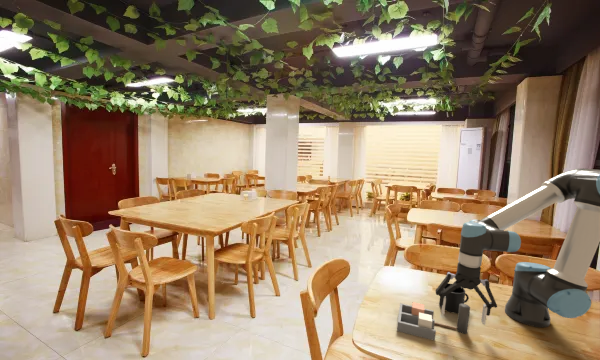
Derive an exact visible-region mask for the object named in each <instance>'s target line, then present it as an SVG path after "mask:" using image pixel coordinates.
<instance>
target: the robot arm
mask: <svg viewBox="0 0 600 360" xmlns="http://www.w3.org/2000/svg"><path fill="white" fill-rule="evenodd" d="M573 199H574V200H573ZM567 200H573V203H574V204H575V206H576V209H575V210H576V211H575V213H574V215H573V218H572V220H571V223H570V224H569V228H568V230H567V233H566V236H565V239H564V241H563V243H562V245H561V248H560V250H559V253H558V256H557V258H556V260H555V263H554V266H553V267H550V266H547V265H544V264H541V263H536V262H527V261H521V262H517V263H515V267H514V275H513V282H512V292H511V295H510V297H509V298H508V299H507V302H506V303H505V306H504V313H505V314H506V315H507V316H509V317H510V318H511V319H513V320H515V321H517V322H519V323H521V324H524V325H527V326H530V327H535V328H548V327H550V325H551V316H550V311H551V312H552V313H555V314H556V315H558V316H560V317H562V318H565V319H576V318H578V317H582V316H583V315H585V314H586V313H587V312H588V311H589V310H590V309H591V305H592V299H591V296H590V295H589V294H588V293H587V290H588V286H589V284H588V283H587V282H586V280H585V278H586V275H587V273H588V270H589V268H590V267H591V264H592V262H593V259H594V256H595V254H596V252H597V249H598V247H599V245H600V169H593V168H576V169H571V170H567V171H565V172H562V173H560V174H558V175H555V176H553V177H552V178H548V179H547V180H546V181H544V182H542V183H541V186H540V187H539V188H536V189H535V190H533V191H531V192H529V193H527V194H526V195H524V196H522V197H520V198H518V199H516V200H515V201H513V202H511V203H509V204H507V205H505V206H504V207H502V208H500V209H498V210H497V211H495V212H492V213H491V214H489V215H488V216H486V217H485V216H484V217H483V218H482V219H470V220H469V221H467V222H466V221H465V222H464V223H463V224H462V226H461V231H460V240H459V251H458V258H457V261H458V262H457V267H456V273H451V272H450V271H447V272H446V275H445V278H444V279H443V280H442V281H441V283H440V284H439V285H438V286H437V288H436V289H435V290H434V291H435V294H436V295H437V296H439V302H440V305H442V308H441V315H442V316H445V311H446V310H445V303H446V295H448V294H449V293H451V292H452V291H454V290H455V289H456V288H459V287H462V288H463V289H467V290H469V291H470V290H471V291H472V290H474V291H475V292H476V294H478V297H480V299H481V300H482V302H483V305H482V312H481V323H482V325H486V321H487V316H490V315H491V309H492V308H495V309H497V308H498V304H497V302H496V299H495V297H494V295H493V293H492V291H491V290H492V289H491V287H490V281H489V280H488V278H484V279H481V270H482V268H481V267H482V263H483V254H484V251H491V252H493V251H494V252H495V251H496V252H505V253H515V252H518V251H519V250H520V248H521V244H522V239H521V237H520V235H519V233H517V232H515V231H511V230H507V229H509V228H510V227H512V226H515V225H516V224H518V223H519V222H521V221H523V220H526V219H528V218H529V217H531V216H533V215H535V214H537V213H539V212H541V211H543V210H544V209H546V208H548V207H550V206H552V205H553V204H556V203H557V204H558V203H559V204H560V203H563V202H566V201H567ZM453 279H455V281H454V282H453V283H451V284H452V285H450V286H449V287H447V288H446V289H445V290H443V289H444V288H445V286H446V285H447V284H448V283H450V281H451V280H453ZM480 284H482V286H484V287H485V290H486V292H487V295H488V297H489V300H490V301H489V300H488V299H487V297H486V296H485V295H484V293H483V292H482V290H481V289H480V287H479V285H480ZM442 290H443V291H442ZM441 291H442V292H441ZM439 302H438V303H439ZM440 305H439V306H440Z"/></svg>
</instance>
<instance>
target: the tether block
mask: <svg viewBox="0 0 600 360" xmlns="http://www.w3.org/2000/svg"><path fill="white" fill-rule="evenodd" d="M411 306H412V312H411V314H413V315H417V316H419V312H420V313H424V309H425V304H423V303H418V302H414V301H413V302H412V303H411ZM470 312H471V307H470V305H468V304H465V303H464V304H459V312H458V313H457V323H456V326H453V325H450V324H445V323H441V322H436V321H435V323H434V326H439V327H444V328H447V329H452V330H456V331H457V332H458V333H460V334H462V335H463V334H464V335H466V334H468V331H469V321H470Z"/></svg>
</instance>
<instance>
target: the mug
mask: <svg viewBox="0 0 600 360" xmlns="http://www.w3.org/2000/svg"><path fill="white" fill-rule="evenodd" d="M452 284H453V283H450V282H449V283H448V284H447V285H446V286H445V288H444V289H443V290H445V289H446V288H447V287H449V286H450V285H452ZM443 290H442V291H443ZM442 291H441V292H442ZM469 299H470V297H469V295H468V294H467V293H466V290H465V288H462V287H459V288H456V289H455V290H454V291H452V292H451V293H449V294H448V295H446V303H445V311H446V312H449V313H451V314H458V312H459V304H465V303H467V302H468V301H469ZM438 303H439V304H438V305H439V307H440V308H441V309H442V305H440V302H438Z"/></svg>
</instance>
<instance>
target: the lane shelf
mask: <svg viewBox="0 0 600 360" xmlns="http://www.w3.org/2000/svg"><path fill="white" fill-rule="evenodd" d="M398 308H399V309H398V315H397V316H398V318H397V326H396V331H397V332H400V333H405V334H408V335H411V336H416V337H418V338H419V337H420V338H424V339H426V340H427V339H428V340H431V341H436V333H437V332H436V329H435V325H434V323H435V322H436V321H435V319H434V314H435V313H434V309H428V308H424V314H429V315H432V329H430V328H426V327H422V326H418V318H419V316H417V315H413V314H411V312H412V304H405V303H401V302H400V303H399V307H398Z"/></svg>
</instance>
